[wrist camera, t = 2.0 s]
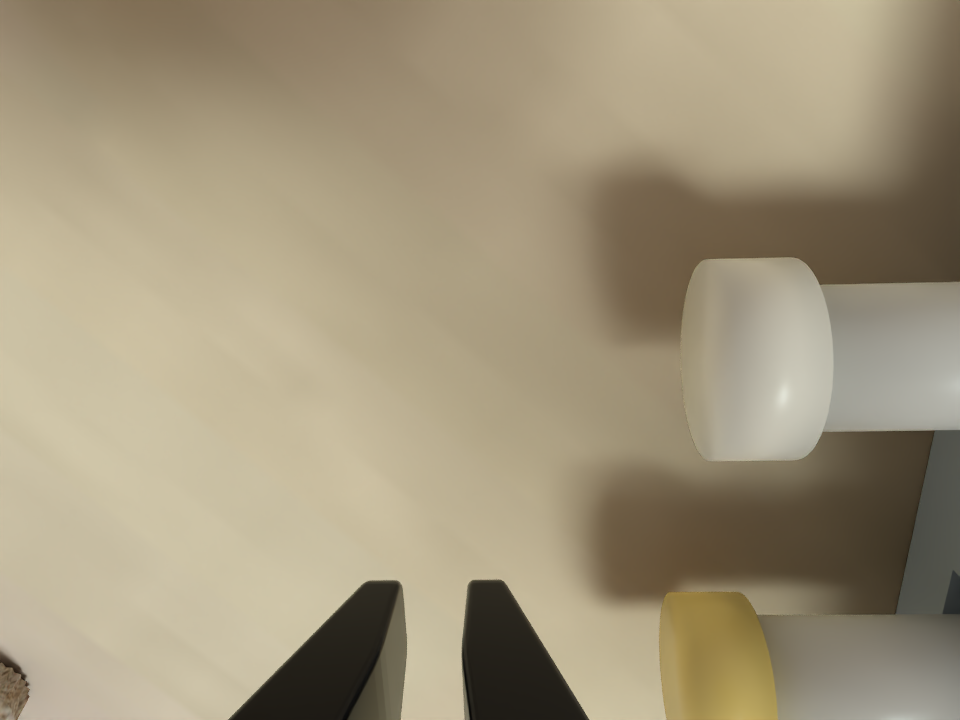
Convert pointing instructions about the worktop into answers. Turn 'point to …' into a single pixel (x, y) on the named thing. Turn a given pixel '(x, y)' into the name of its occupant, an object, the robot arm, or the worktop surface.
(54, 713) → the worktop surface
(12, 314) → the worktop surface
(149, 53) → the worktop surface
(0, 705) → the mushroom
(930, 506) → the mount
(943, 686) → the yellow capped tube
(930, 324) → the knob
